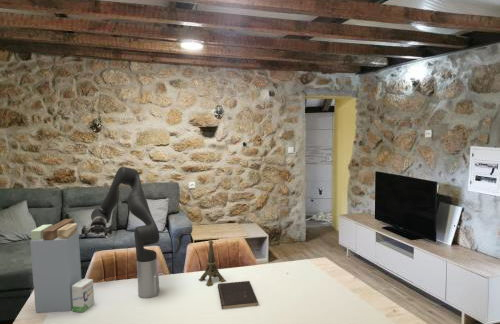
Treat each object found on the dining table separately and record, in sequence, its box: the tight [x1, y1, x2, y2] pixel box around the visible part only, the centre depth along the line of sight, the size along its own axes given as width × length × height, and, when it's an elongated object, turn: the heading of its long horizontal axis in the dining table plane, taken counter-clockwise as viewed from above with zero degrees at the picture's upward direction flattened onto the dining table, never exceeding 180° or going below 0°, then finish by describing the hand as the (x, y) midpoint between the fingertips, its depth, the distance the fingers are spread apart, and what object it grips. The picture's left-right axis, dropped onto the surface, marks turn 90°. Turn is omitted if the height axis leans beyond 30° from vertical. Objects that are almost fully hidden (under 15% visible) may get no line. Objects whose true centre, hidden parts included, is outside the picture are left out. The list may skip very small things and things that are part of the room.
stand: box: [29, 230, 83, 314], centre depth 165 cm, size 15×13×32 cm
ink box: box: [72, 278, 95, 313], centre depth 163 cm, size 9×5×12 cm, turn 168°
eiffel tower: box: [198, 238, 227, 287], centre depth 189 cm, size 11×11×25 cm
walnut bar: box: [43, 218, 75, 241], centre depth 168 cm, size 4×22×4 cm, turn 4°
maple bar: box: [57, 222, 78, 239], centre depth 164 cm, size 4×11×4 cm, turn 4°
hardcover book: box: [217, 280, 259, 310], centre depth 172 cm, size 16×23×2 cm
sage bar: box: [30, 223, 53, 241], centre depth 163 cm, size 4×11×4 cm, turn 4°
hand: (96, 234), depth 180 cm, fingers open, 8 cm apart
